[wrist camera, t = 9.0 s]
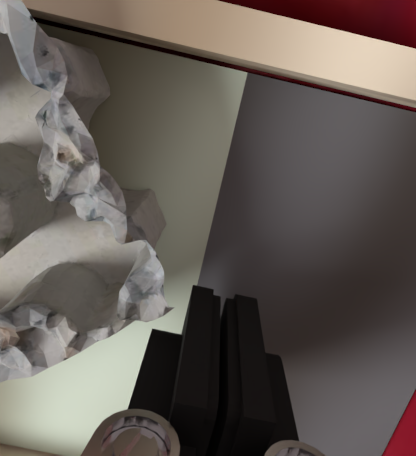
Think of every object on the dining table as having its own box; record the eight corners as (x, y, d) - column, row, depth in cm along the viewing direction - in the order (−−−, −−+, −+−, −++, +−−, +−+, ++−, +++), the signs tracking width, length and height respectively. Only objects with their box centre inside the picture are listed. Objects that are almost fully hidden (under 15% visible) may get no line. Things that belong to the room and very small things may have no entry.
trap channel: (879, 180, 9) (1052, 203, 7) (556, 567, 14) (608, 641, 12) (-556, -168, 8) (-801, -248, 6) (-358, 390, 13) (-458, 442, 11)
